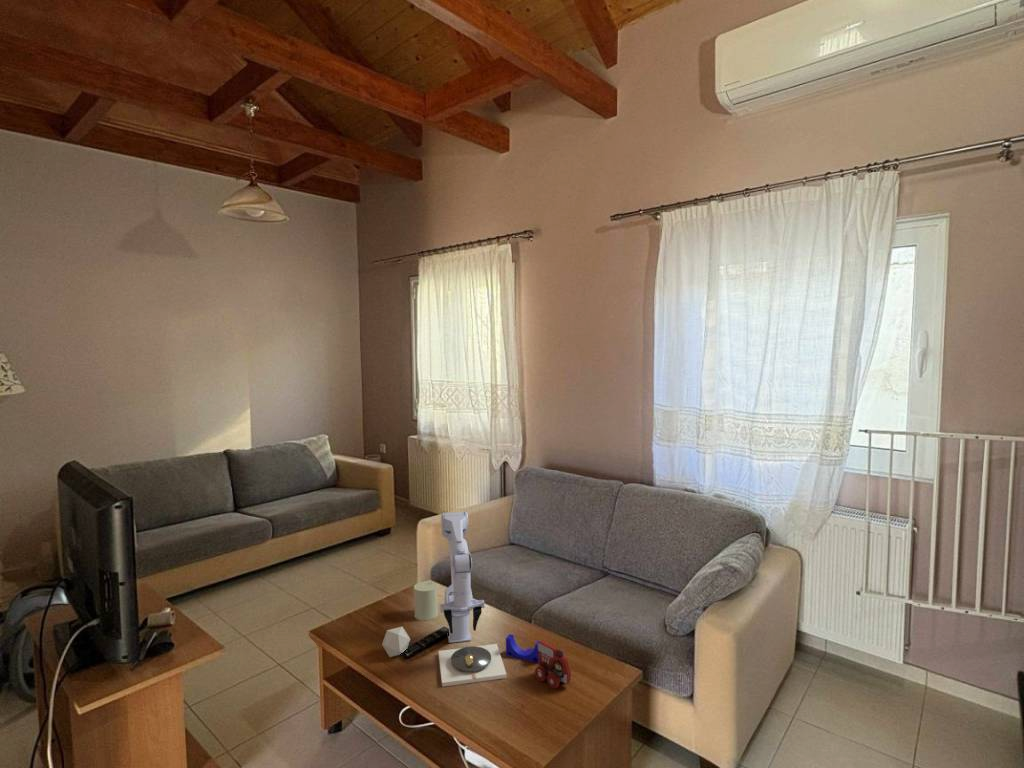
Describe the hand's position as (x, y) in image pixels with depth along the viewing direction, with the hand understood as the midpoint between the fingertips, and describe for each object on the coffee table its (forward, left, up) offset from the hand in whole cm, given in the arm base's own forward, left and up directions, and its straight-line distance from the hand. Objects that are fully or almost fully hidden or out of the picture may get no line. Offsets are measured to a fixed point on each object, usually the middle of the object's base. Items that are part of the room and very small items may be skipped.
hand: (462, 630), depth 176 cm
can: (-33, -11, -10) cm, 36 cm away
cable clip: (+3, +20, -10) cm, 23 cm away
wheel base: (+5, +2, -9) cm, 11 cm away
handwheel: (+5, +2, -7) cm, 9 cm away
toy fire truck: (+18, +26, -10) cm, 33 cm away
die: (-8, -22, -10) cm, 25 cm away
